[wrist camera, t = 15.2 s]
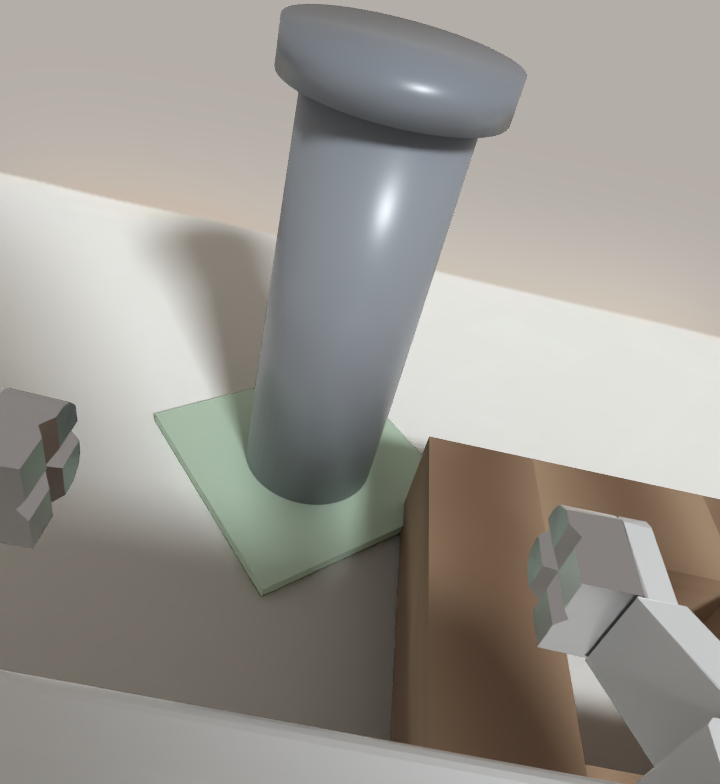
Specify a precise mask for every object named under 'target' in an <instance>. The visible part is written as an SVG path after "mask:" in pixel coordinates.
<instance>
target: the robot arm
mask: <svg viewBox="0 0 720 784" xmlns="http://www.w3.org/2000/svg"><path fill="white" fill-rule="evenodd" d="M76 422H77V414H76V407H75V405H74V404H72V403H70V402H67V401H63V400H58V399H54V398H50V397H45V396H41V395H37V394H33V393H28V392H24V391H20V390H16V389H11V388H9V389H8V388H4V387H0V543H4V544H10V545H16V546H22V547H28V548H34V546H35V545H36V543H37V541H38V540H39V538H40V536H41V535H42V533H43V531H44V530H45V528H46V526H47V525H48V523H49V521H50V520H51V518H52V516H53V514H52V506H51V502H53V501H55V500H57V499H58V498H60V497H62V496H64V495H65V494H66V492H67V491H68V489H69V487H70V485H71V484H72V482H73V479H74V476H75V473H76V470H77V467H78V464H79V455H80V445H79V440H78V439H77V437H76V436H75V435H74V434H73V433H72V432H71V430H72V428H73V427H74V425H75V424H76ZM548 522H549V528H550V530H548V531H546V532H544V533H542V534H540V535H538V536H537V538H536V540H535V542H534V544H533V546H532V547H531V551H530V555H529V559H528V570H527V576H528V585H529V589H530V590H531V591H532V593H533V594H534V595H535V597H536V598H537V599H538V600H539V601H538V603H537V604H536V606H535V608H534V609H533V611H532V614H533V621H534V628H535V635H536V642H537V647H540V648H544V649H549V650H553V651H558V652H562V653H567V654H571V655H576V656H580V657H584V658H586V660H585V661H586V662H587V664H588V665H589V667H590V668H591V670H592V672H593V673H594V675H595V676H596V678H597V679H598V681H599V682H600V684H601V686H602V687H603V689H604V690H605V692H606V693H607V695H608V696H609V698H610V699H611V701H612V703H613V704H614V706H615V707H616V709H617V710H618V712H619V713H620V715H621V717H622V718H623V720H624V721H625V723H626V724H627V726H628V727H629V729H630V730H631V732H632V734H633V735H634V737H635V738H636V740H637V741H638V743H639V744H640V746H641V748H642V749H643V751H644V752H645V754H646V755H647V757H648V758H649V760H650V762H651V763H652V765H653V766H654V767H653V768H652V769H651V770H650V771H649V772H648V773H646V774H645V775H644V776H643V777H642V778H640V779H639V780H638V781H637V782H636V783H635V784H720V641H719V640H718V639H717V638H716V637H715V635H714V634H713V633H712V632H711V631H710V630H709V629H708V628H707V627H706V626H705V625H704V624H703V623H702V622H701V621H700V620H699V619H698V618H697V617H696V616H695V615H694V614H693V612H692V611H691V610H690V609H689V608H688V607H686V606H682V605H678V602H677V600H676V597H675V594H674V591H673V588H672V585H671V582H670V579H669V577H668V574H667V571H666V568H665V565H664V562H663V559H662V556H661V554H660V551H659V548H658V545H657V542H656V539H655V536H654V533H653V531H652V528H651V526H650V525H649V524H648V523H647V522H645V521H640V520H635V519H630V518H625V517H620V516H614V515H609V514H604V513H599V512H594V511H589V510H584V509H579V508H574V507H569V506H564V505H559V506H557V507H556V508H555V509H554V510H553V511H552V513H551V515H550V516H549V518H548ZM0 784H622V783H617V782H612V781H606V780H601V779H595V778H590V777H584V776H579V775H573V774H568V773H563V772H557V771H552V770H546V769H541V768H535V767H530V766H524V765H519V764H513V763H508V762H503V761H497V760H492V759H486V758H481V757H475V756H470V755H465V754H459V753H454V752H448V751H443V750H437V749H432V748H427V747H421V746H416V745H410V744H405V743H399V742H394V741H388V740H383V739H378V738H372V737H367V736H361V735H356V734H350V733H345V732H340V731H334V730H329V729H323V728H318V727H312V726H307V725H301V724H296V723H290V722H285V721H279V720H274V719H269V718H263V717H258V716H252V715H247V714H241V713H236V712H230V711H225V710H219V709H214V708H208V707H203V706H197V705H192V704H186V703H181V702H175V701H170V700H164V699H159V698H154V697H148V696H143V695H137V694H132V693H126V692H121V691H115V690H110V689H105V688H99V687H94V686H88V685H83V684H77V683H72V682H66V681H61V680H55V679H50V678H45V677H39V676H34V675H28V674H23V673H17V672H12V671H6V670H1V669H0Z"/></svg>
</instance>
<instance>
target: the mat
mask: <svg viewBox="0 0 720 784" xmlns="http://www.w3.org/2000/svg"><path fill="white" fill-rule="evenodd" d="M254 392H255V388H252V389H248V390H244V391H240V392H236V393H232V394H229V395H225V396H221V397H217V398H213V399H209V400H205V401H202V402H198V403H194V404H190V405H186V406H182V407H178V408H175V409H171V410H167V411H163V412H159V413H155V422H156V423H157V425H158V427H159V428H160V430H161V432H162V433H163V435H164V437H165V438H166V440H167V442H168V443H169V445H170V446H171V448H172V450H173V451H174V453H175V455H176V456H177V458H178V460H179V461H180V463H181V465H182V466H183V468H184V470H185V471H186V473H187V475H188V476H189V478H190V479H191V481H192V483H193V484H194V486H195V488H196V489H197V491H198V493H199V494H200V496H201V498H202V499H203V501H204V503H205V504H206V506H207V508H208V509H209V511H210V512H211V514H212V516H213V517H214V519H215V521H216V522H217V524H218V526H219V527H220V529H221V531H222V532H223V534H224V536H225V537H226V539H227V540H228V542H229V544H230V545H231V547H232V549H233V550H234V552H235V554H236V555H237V557H238V559H239V560H240V562H241V564H242V565H243V567H244V569H245V570H246V572H247V573H248V575H249V577H250V578H251V580H252V582H253V583H254V585H255V587H256V588H257V590H258V592H259V593H260V595H261V596H263V595H265V594H267V593H270V592H272V591H274V590H276V589H278V588H280V587H283V586H285V585H287V584H289V583H291V582H294V581H296V580H298V579H300V578H302V577H304V576H307V575H309V574H311V573H313V572H315V571H318V570H320V569H322V568H324V567H326V566H328V565H331V564H333V563H335V562H337V561H339V560H341V559H344V558H346V557H348V556H350V555H352V554H355V553H357V552H359V551H361V550H363V549H365V548H368V547H370V546H372V545H374V544H376V543H379V542H381V541H383V540H385V539H387V538H389V537H392V536H394V535H396V534H398V533H400V532H401V530H402V527H403V515H404V502H405V499H406V497H407V494H408V491H409V489H410V486H411V483H412V481H413V478H414V476H415V473H416V470H417V468H418V465H419V462H420V460H421V457H422V455H421V454H420V452H419V451H418V450H417V449H416V448H415V447H414V446H413V445H412V444H411V443H410V442H409V441H408V439H407V438H406V437H405V436H404V435H403V434H402V433H401V432H400V431H399V430H398V429H397V428H396V426H395V425H394V424H393V423H392V422H391V421H390V420H389V419H388V418H387V420H386V423H385V427H384V430H383V433H382V436H381V439H380V442H379V445H378V448H377V451H376V454H375V457H374V461H373V464H372V467H371V470H370V473H369V476H368V479H367V481H366V483H365V484H364V485H363V487H362V488H361V489H360V490H359V491H358V492H357V493H355V494H354V495H352V496H351V497H349V498H347V499H345V500H342V501H339V502H336V503H331V504H324V505H310V504H302V503H297V502H293V501H290V500H287V499H285V498H282V497H280V496H278V495H276V494H274V493H273V492H271V491H269V490H268V489H267V488H265V487H264V486H263V485H262V484H261V483H260V482H259V481H258V480H257V479H256V478H255V476H254V475H253V473H252V472H251V470H250V468H249V466H248V463H247V458H246V446H247V440H248V433H249V426H250V419H251V412H252V406H253V399H254Z"/></svg>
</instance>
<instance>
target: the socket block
mask: <svg viewBox="0 0 720 784" xmlns="http://www.w3.org/2000/svg"><path fill="white" fill-rule="evenodd" d="M559 505H564V506H569V507H574V508H579V509H584V510H589V511H594V512H599V513H604V514H609V515H614V516H620V517H625V518H630V519H635V520H640V521H645V522H647V523H648V524H649V525H650V526H651V528H652V531H653V533H654V536H655V539H656V542H657V545H658V548H659V551H660V554H661V556H662V559H663V562H664V565H665V568H666V571H667V574H668V577H669V579H670V582H671V585H672V588H673V591H674V594H675V597H676V600H677V602H678V605H682V606H686V607H688V608H689V609H690V610H691V611H692V612H693V614H694V615H695V616H696V617H697V618H698V619H699V620H700V621H701V622H702V623H703V624H704V625H705V626H706V627H707V628H708V629H709V630H710V631H711V632H712V633H713V634H714V635H715V637H716V638H717V639H718V640H719V641H720V499H715V498H710V497H706V496H701V495H697V494H692V493H687V492H683V491H678V490H673V489H669V488H664V487H660V486H655V485H650V484H646V483H641V482H637V481H632V480H627V479H623V478H618V477H613V476H609V475H604V474H600V473H595V472H590V471H586V470H581V469H577V468H572V467H567V466H563V465H558V464H553V463H549V462H544V461H540V460H535V459H530V458H526V457H521V456H517V455H512V454H507V453H503V452H498V451H493V450H489V449H484V448H480V447H475V446H470V445H466V444H461V443H457V442H452V441H447V440H443V439H438V438H433V437H429V439H428V441H427V444H426V447H425V449H424V452H423V455H422V457H421V460H420V462H419V465H418V468H417V470H416V473H415V476H414V478H413V481H412V483H411V486H410V489H409V491H408V494H407V497H406V499H405V502H404V515H403V527H402V530H401V532H400V551H399V572H398V592H397V613H396V634H395V655H394V676H393V697H392V717H391V738H390V741H394V742H399V743H405V744H410V745H416V746H421V747H427V748H432V749H437V750H443V751H448V752H454V753H459V754H465V755H470V756H475V757H481V758H486V759H492V760H497V761H503V762H508V763H513V764H519V765H524V766H530V767H535V768H541V769H546V770H552V771H557V772H563V773H568V774H573V775H579V776H584V777H590V778H595V779H601V780H606V781H612V782H617V783H622V784H635V783H636V782H637V781H638V780H639V779H640V778H642V777H643V776H644V775H640V774H634V773H629V772H624V771H618V770H613V769H607V768H602V767H597V766H591V765H586V764H585V759H584V753H583V748H582V742H581V736H580V730H579V724H578V718H577V713H576V707H575V701H574V695H573V689H572V684H571V678H570V672H569V666H568V660H567V654H566V653H562V652H558V651H553V650H549V649H544V648H540V647H537V642H536V635H535V628H534V621H533V614H532V611H533V609H534V608H535V606H536V604H537V603H538V601H539V600H538V599H537V598H536V597H535V595H534V594H533V593H532V591H531V590H530V589H529V585H528V576H527V570H528V559H529V555H530V551H531V547H532V546H533V544H534V542H535V540H536V538H537V536H538V535H540V534H542V533H544V532H546V531H548V530H550V528H549V522H548V518H549V516H550V515H551V513H552V511H553V510H554V509H555V508H556V507H557V506H559Z"/></svg>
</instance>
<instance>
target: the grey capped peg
mask: <svg viewBox="0 0 720 784" xmlns="http://www.w3.org/2000/svg"><path fill="white" fill-rule="evenodd" d="M275 71H276V72H277V74H278V76H279V77H280V78H281V79H282V80H283V81H284V82H286V83H287V84H288V85H289V86H291V87H292V88H294V89H295V90H297V91H298V99H297V106H296V112H295V119H294V127H293V133H292V140H291V147H290V154H289V160H288V167H287V174H286V181H285V187H284V194H283V201H282V208H281V215H280V222H279V228H278V235H277V242H276V249H275V256H274V262H273V269H272V276H271V283H270V290H269V297H268V303H267V310H266V317H265V324H264V331H263V337H262V344H261V351H260V358H259V365H258V371H257V378H256V385H255V392H254V399H253V406H252V412H251V419H250V426H249V433H248V440H247V446H246V458H247V463H248V466H249V468H250V470H251V472H252V473H253V475H254V476H255V478H256V479H257V480H258V481H259V482H260V483H261V484H262V485H263V486H264V487H265V488H267V489H268V490H269V491H271V492H273V493H274V494H276V495H278V496H280V497H282V498H285V499H287V500H290V501H293V502H297V503H302V504H310V505H324V504H331V503H336V502H339V501H342V500H345V499H347V498H349V497H351V496H352V495H354V494H355V493H357V492H358V491H359V490H360V489H361V488H362V487H363V485H364V484H365V483H366V481H367V479H368V476H369V473H370V470H371V467H372V464H373V461H374V457H375V454H376V451H377V448H378V445H379V442H380V439H381V436H382V433H383V430H384V427H385V423H386V420H387V417H388V414H389V411H390V408H391V405H392V402H393V399H394V396H395V393H396V389H397V386H398V383H399V380H400V377H401V374H402V371H403V368H404V365H405V362H406V359H407V355H408V352H409V349H410V346H411V343H412V340H413V337H414V334H415V331H416V328H417V325H418V321H419V318H420V315H421V312H422V309H423V306H424V303H425V300H426V297H427V294H428V291H429V287H430V284H431V281H432V278H433V275H434V272H435V269H436V266H437V263H438V260H439V256H440V253H441V250H442V247H443V244H444V241H445V238H446V235H447V232H448V229H449V226H450V222H451V219H452V216H453V213H454V210H455V207H456V204H457V201H458V198H459V195H460V191H461V189H462V185H463V182H464V179H465V176H466V173H467V170H468V167H469V164H470V161H471V157H472V155H473V151H474V148H475V145H476V142H477V139H478V138H483V137H491V136H496V135H499V134H502V133H503V132H505V131H507V129H508V128H509V127H510V124H511V121H512V118H513V116H514V113H515V110H516V107H517V104H518V101H519V98H520V96H521V93H522V90H523V87H524V84H525V81H526V78H527V74H526V72H525V70H524V69H523V68H522V67H521V66H520V65H519V64H517V63H516V62H515V61H513V60H512V59H510V58H508V57H506V56H505V55H503V54H501V53H499V52H497V51H495V50H493V49H491V48H489V47H487V46H485V45H482V44H480V43H478V42H475V41H473V40H470V39H468V38H465V37H462V36H460V35H457V34H454V33H451V32H448V31H445V30H442V29H439V28H436V27H433V26H429V25H426V24H422V23H419V22H415V21H411V20H408V19H403V18H400V17H395V16H392V15H387V14H383V13H378V12H373V11H368V10H362V9H356V8H350V7H343V6H334V5H323V4H299V5H292V6H289V7H286V8H284V9H283V10H282V12H281V17H280V25H279V33H278V41H277V49H276V57H275Z"/></svg>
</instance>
